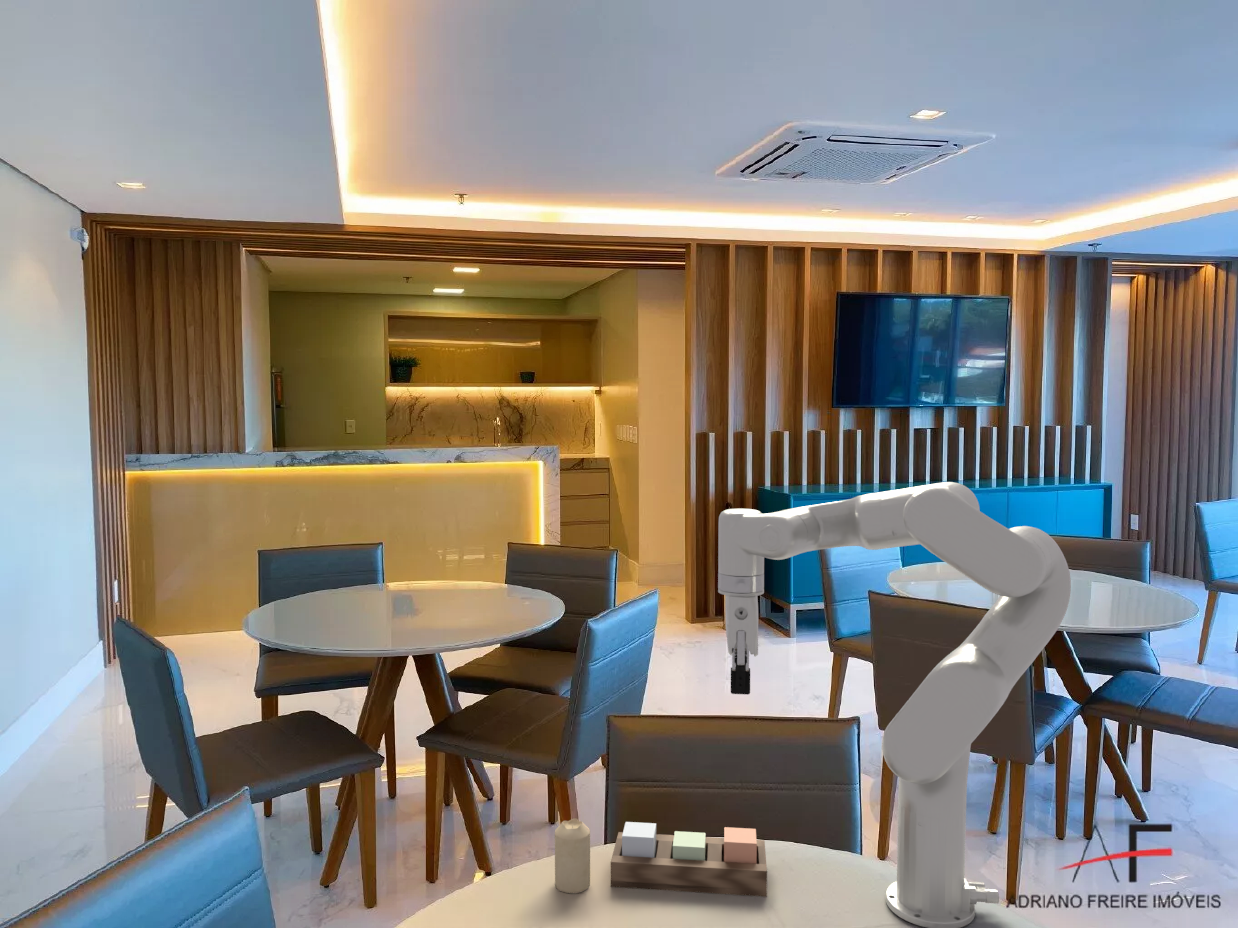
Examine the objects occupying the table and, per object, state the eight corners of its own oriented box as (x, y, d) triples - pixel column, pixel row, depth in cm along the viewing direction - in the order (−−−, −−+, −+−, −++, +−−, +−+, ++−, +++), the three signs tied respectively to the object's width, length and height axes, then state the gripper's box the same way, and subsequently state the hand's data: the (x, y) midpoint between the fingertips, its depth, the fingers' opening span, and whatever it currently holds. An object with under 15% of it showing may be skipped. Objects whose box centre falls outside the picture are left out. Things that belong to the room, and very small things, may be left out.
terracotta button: (755, 856, 145) (755, 828, 144) (756, 871, 140) (756, 843, 139) (724, 854, 145) (724, 827, 145) (724, 869, 140) (724, 841, 140)
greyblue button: (656, 850, 147) (656, 823, 146) (653, 865, 142) (653, 837, 141) (625, 848, 147) (625, 821, 147) (622, 863, 142) (622, 836, 142)
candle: (550, 891, 139) (549, 828, 138) (561, 873, 144) (560, 812, 144) (584, 896, 137) (584, 832, 137) (594, 877, 143) (594, 816, 142)
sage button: (705, 859, 146) (705, 832, 145) (704, 875, 141) (704, 847, 140) (674, 858, 146) (674, 831, 146) (672, 873, 141) (672, 845, 141)
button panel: (764, 864, 147) (764, 840, 147) (766, 896, 137) (767, 871, 137) (618, 855, 150) (618, 832, 150) (610, 886, 140) (610, 861, 140)
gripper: (765, 593, 141) (764, 708, 142) (762, 576, 156) (761, 680, 157) (717, 592, 142) (717, 706, 143) (718, 575, 157) (718, 678, 158)
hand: (740, 692), depth 150 cm, fingers closed
